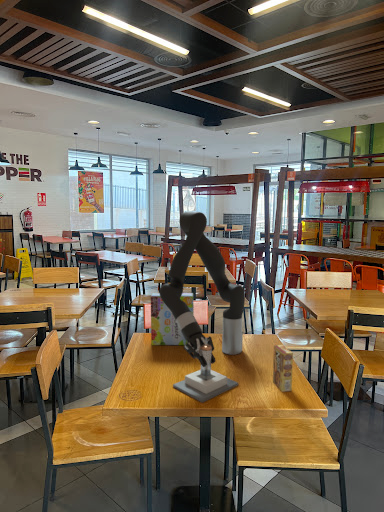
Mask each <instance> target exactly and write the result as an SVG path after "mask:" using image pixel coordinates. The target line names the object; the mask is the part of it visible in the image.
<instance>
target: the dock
mask: <svg viewBox="0 0 384 512" xmlns="http://www.w3.org/2000/svg"><path fill="white" fill-rule="evenodd" d="M238 386H239V382H238V381H235V380H233V379H231V378H228V376H226V375H223V374H221V373H219V372H217V371H215V370H212V369H211V375H209V376H203V375H201V369H198V370H197V371H194V372H190V373H188V374H186V375H184V380H181V381H178V382H175V383H173V384H172V387H173V388H174V389H176V390H178V391H180V392H181V393H184V395H187V396H189V397H191V398H193V399H195V400H196V401H198V402H200V403H203V404H204V402H206V401H208V400H209V401H210V400H211V399H212V398H215V397H217V396H219V395H221V394H223V393H226V392H227V391H229V390H232V389H233V388H235V387H238Z"/></svg>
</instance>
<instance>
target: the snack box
mask: <svg viewBox="0 0 384 512" xmlns="http://www.w3.org/2000/svg"><path fill="white" fill-rule="evenodd" d="M180 299H181V300H182V301H183V302H185V303H186V304H187V306H188V308H189V309H190V311H191V313H192V314H193V316H194V317H195V315H194V313H195V312H194V310H195V309H194V307H195V306H194V293H193V292H183V293H182V296H181V297H180ZM150 335H151V336H150V339H151V340H150V341H151V345H150V346H185V345H186V344H187V343H188V341H187V340H185V338H184V336H183V334H182V332H181V330H180V328H179V327H178V324H177V322H176V320H175V318H174V316H173V314H172V312H171V310H170V309H169V308H168V307H167V306H166V305H165V303H164V302H163V301H162V299H161V297H160V293H159V292H152V293H151V295H150Z"/></svg>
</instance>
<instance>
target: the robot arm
mask: <svg viewBox="0 0 384 512" xmlns="http://www.w3.org/2000/svg"><path fill="white" fill-rule="evenodd" d="M207 225H208V219H207V216H206V215H205V213H203V212H201V211H190V210H189V211H184V212H183V213H181V214H180V216H179V226H180V228H181V230H182V232H183V233H184V235H185V236H186V237H185V240H184V241H183V243H182V245H181V246H180V247H179V249H178V251H176V253H175V254H174V256H173V259H172V261H171V263H170V264H171V265H170V267H169V270H168V277H169V278H170V283H164V284H162V285H161V286H160V288H159V292H158V293H160V297H161V299H162V301H163V302H164V303H165V305H166V306H167V307H168V308H169V309H170V310H171V312H172V314H173V316H174V318H175V320H176V322H177V324H178V327H179V328H180V330H181V332H182V334H183V336H184V338H185V340H187V341H188V343H187V344H186V345H183V349H184V350H185V351H186V352H187V353H188V355H189V356H191V358H193V359H197V360H198V362H199V363H200V366H201V365H202V366H203V367H205V366H206V365H207V362H206V360H205V358H204V357H203V356H202V353H201V346H202V345H210V346H212V350H211V365H213V364H215V362H216V358H215V356H214V354H213V351H214V350H215V346H214V343H213V339H212V336H208V337H207V336H205V335H204V334H203V330H202V328H201V326H200V324H199V322H198V321H197V319H196V317H195V315H194V316H193V314H192V313H191V311H190V309H189V308H188V306H187V304H186V303H185V302H183V301H182V300H181V299H180V297H181V296H182V293H184V285H185V276H186V274H187V271H188V267H189V265H190V261H191V260H192V257H193V254H194V252H195V251H196V253H197V255H198V256H199V258H200V260H201V262H202V263H203V265H204V267H205V269H206V270H207V272H208V274H209V276H210V278H211V279H212V281H213V283H214V285H215V287H216V290H217V293H218V294H219V297H220V298H221V300H222V301H224V302H225V303H229V308H227V309H224V310H223V311H222V333H221V334H222V338H221V339H222V341H221V342H222V343H221V344H222V345H221V351H222V353H223V354H226V355H231V356H233V355H239V354H241V353H242V351H243V342H244V341H243V337H244V336H243V335H244V334H243V333H244V332H243V329H242V328H243V314H244V310H245V301H246V300H245V299H246V291H245V289H244V287H243V286H242V285H239V284H235V283H232V282H230V279H229V278H228V277H227V275H226V261H225V259H224V256H223V254H222V252H221V251H220V249H219V248H218V247H217V245H215V244H214V243H213V242H212V241H211V240H210V238H208V237H207V236H206V235H205V230H206V228H207Z"/></svg>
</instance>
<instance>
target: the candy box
mask: <svg viewBox="0 0 384 512" xmlns="http://www.w3.org/2000/svg"><path fill="white" fill-rule="evenodd" d="M293 359H294V352H293V351H291V350H290V349H289V348H287V347H286V346H285V345H283V344H278V345H276V344H275V345H273V365H272V367H273V369H272V374H273V375H272V383H273V384H275V386H276V387H277V388H278V390H280V392H283V393H285V392H292V389H293V386H292V385H293V365H294V364H293V362H294V360H293Z"/></svg>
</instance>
